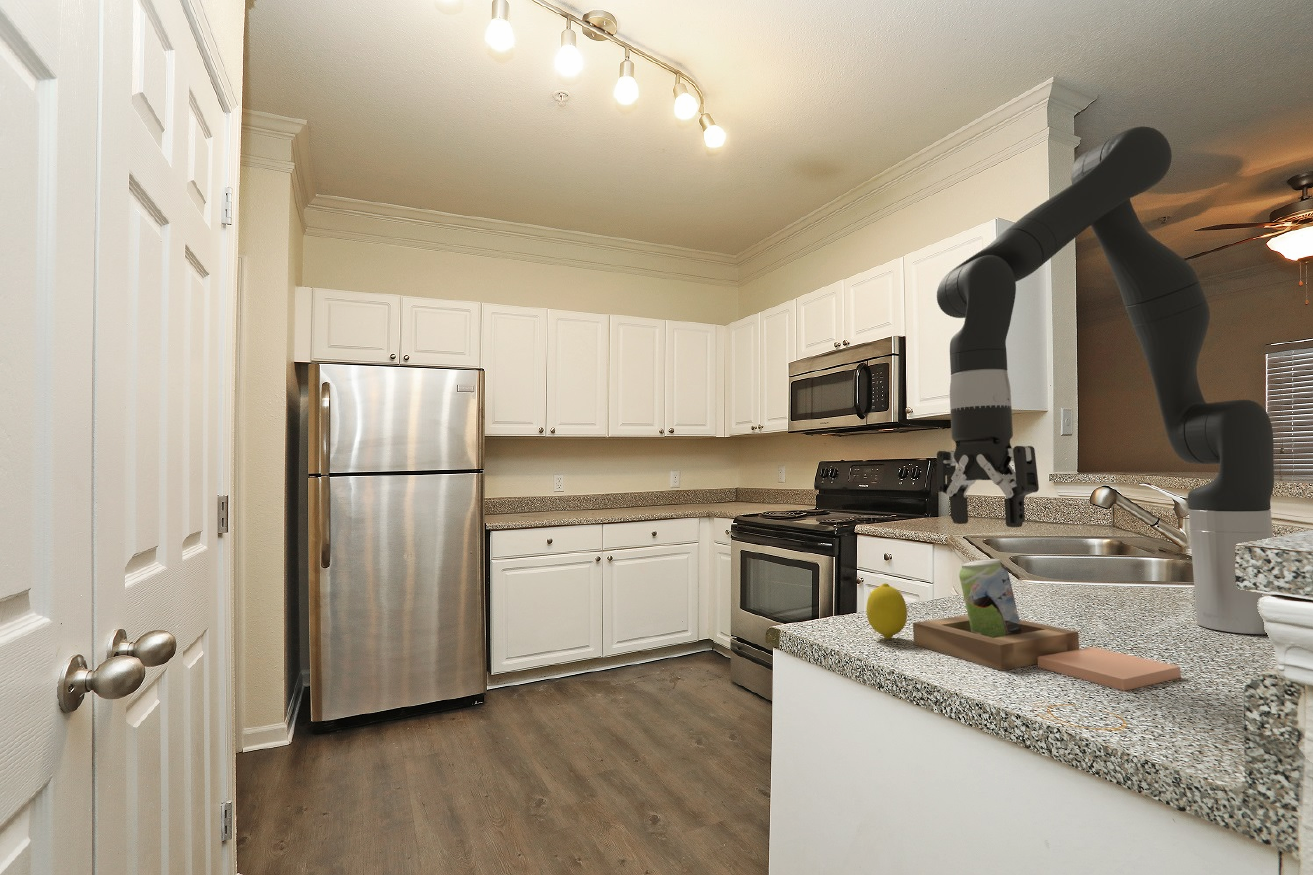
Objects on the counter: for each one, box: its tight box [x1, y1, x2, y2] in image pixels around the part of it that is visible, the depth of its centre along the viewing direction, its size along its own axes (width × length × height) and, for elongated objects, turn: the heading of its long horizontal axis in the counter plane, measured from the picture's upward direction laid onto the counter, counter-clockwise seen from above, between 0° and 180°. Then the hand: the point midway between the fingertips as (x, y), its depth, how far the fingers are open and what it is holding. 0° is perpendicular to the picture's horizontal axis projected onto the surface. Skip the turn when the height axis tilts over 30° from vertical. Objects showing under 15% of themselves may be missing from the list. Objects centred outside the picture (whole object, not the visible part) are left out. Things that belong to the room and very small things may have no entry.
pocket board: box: [912, 614, 1080, 672], centre depth 88 cm, size 14×14×3 cm
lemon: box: [866, 582, 908, 640], centre depth 95 cm, size 6×6×8 cm
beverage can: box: [958, 558, 1022, 638], centre depth 88 cm, size 6×7×12 cm
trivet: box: [1037, 646, 1182, 692], centre depth 77 cm, size 10×10×1 cm
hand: (986, 525), depth 89 cm, fingers open, 8 cm apart
